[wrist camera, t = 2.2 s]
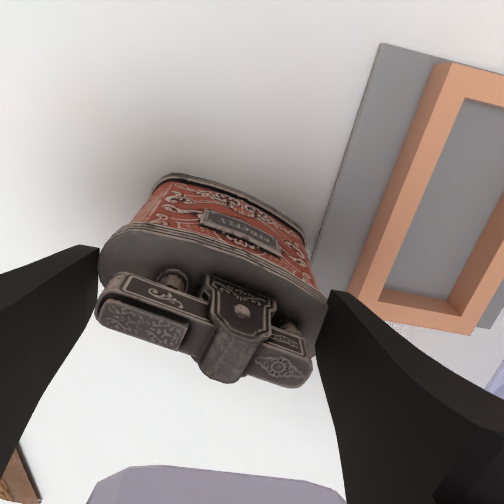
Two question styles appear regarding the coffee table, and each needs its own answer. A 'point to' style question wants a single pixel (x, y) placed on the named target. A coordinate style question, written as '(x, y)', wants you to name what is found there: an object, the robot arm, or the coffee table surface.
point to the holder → (421, 196)
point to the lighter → (214, 282)
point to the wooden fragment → (17, 483)
